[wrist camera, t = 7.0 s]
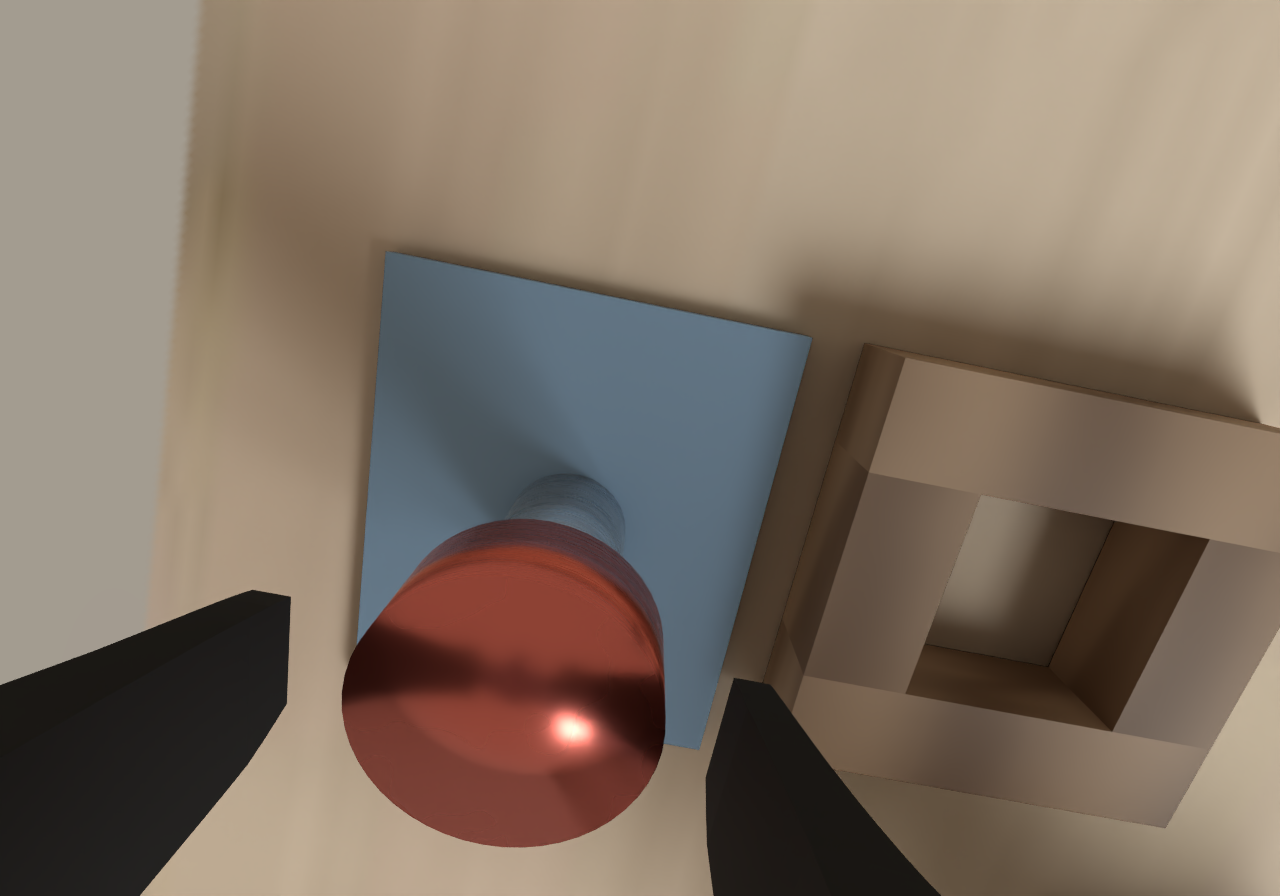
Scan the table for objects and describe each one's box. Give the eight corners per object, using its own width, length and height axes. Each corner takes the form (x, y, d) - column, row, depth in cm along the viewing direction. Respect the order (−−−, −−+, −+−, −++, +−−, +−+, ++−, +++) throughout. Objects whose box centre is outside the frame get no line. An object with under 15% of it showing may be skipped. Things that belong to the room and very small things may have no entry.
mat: (807, 335, 15) (812, 337, 14) (697, 737, 18) (698, 750, 18) (394, 251, 14) (386, 251, 14) (361, 677, 18) (353, 688, 17)
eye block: (1264, 424, 15) (1378, 453, 13) (1097, 753, 18) (1165, 828, 16) (864, 342, 15) (905, 357, 12) (759, 692, 18) (776, 759, 15)
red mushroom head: (678, 460, 15) (699, 613, 8) (639, 625, 17) (630, 870, 10) (487, 421, 15) (352, 546, 8) (463, 591, 16) (332, 817, 10)
